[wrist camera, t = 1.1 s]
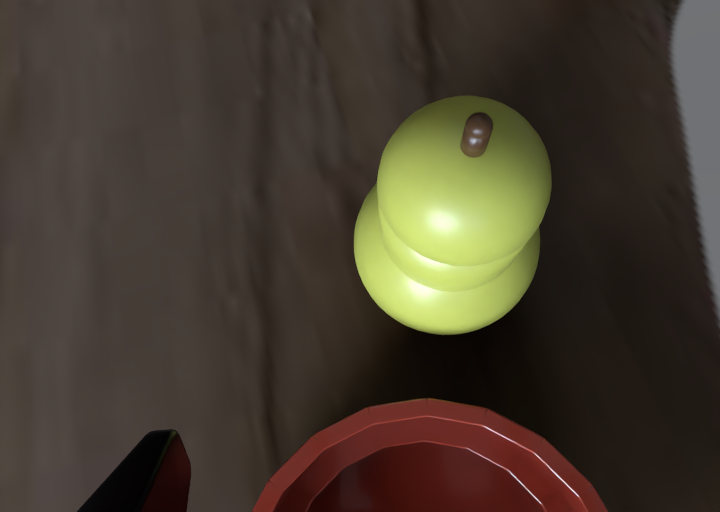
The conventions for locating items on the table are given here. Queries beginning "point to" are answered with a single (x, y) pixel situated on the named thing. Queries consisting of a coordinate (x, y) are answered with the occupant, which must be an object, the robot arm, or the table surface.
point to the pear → (454, 216)
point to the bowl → (428, 465)
